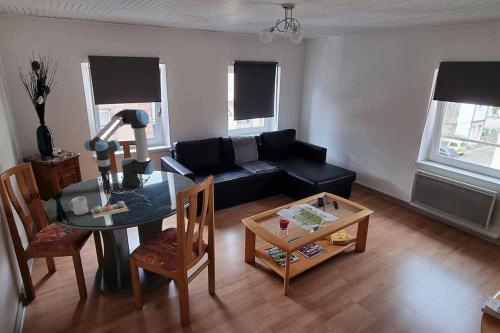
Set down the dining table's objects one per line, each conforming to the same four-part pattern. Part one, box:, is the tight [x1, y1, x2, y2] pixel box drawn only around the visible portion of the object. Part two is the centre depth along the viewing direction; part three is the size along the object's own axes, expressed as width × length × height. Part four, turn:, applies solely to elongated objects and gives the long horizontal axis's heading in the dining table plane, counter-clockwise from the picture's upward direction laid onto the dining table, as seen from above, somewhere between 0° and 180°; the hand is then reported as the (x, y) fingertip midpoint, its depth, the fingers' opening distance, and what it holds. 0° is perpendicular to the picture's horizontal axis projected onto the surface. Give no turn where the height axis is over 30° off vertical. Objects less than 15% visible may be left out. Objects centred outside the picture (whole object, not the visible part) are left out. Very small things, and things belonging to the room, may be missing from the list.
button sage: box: [92, 204, 102, 214], centre depth 209 cm, size 5×5×4 cm
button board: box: [90, 203, 130, 219], centre depth 213 cm, size 15×22×1 cm
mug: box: [69, 195, 89, 216], centre depth 208 cm, size 9×12×11 cm
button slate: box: [116, 200, 126, 209], centre depth 217 cm, size 5×5×4 cm
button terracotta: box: [106, 204, 114, 211], centre depth 213 cm, size 5×5×4 cm
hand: (108, 197), depth 211 cm, fingers closed
